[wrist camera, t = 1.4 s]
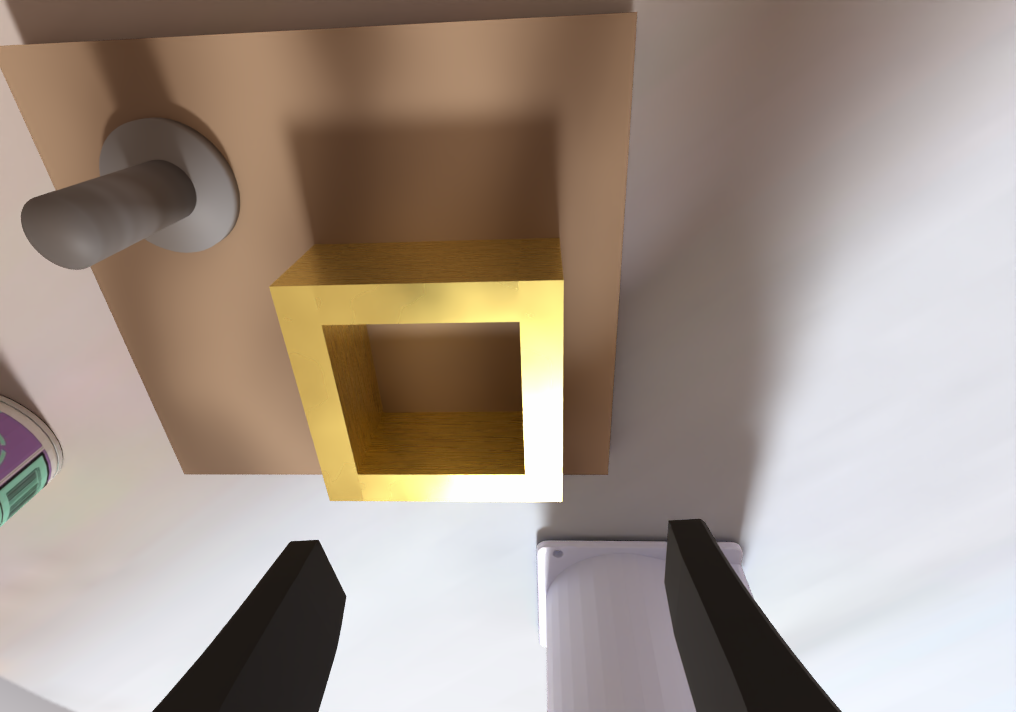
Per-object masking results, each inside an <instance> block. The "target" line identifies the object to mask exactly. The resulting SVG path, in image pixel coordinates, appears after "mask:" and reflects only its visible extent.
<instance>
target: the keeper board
mask: <svg viewBox="0 0 1016 712" xmlns="http://www.w3.org/2000/svg"><path fill="white" fill-rule="evenodd" d="M636 24H637V12H630V13H611V14H592V15H573V16H554V17H536V18H517V19H498V20H479V21H460V22H442V23H423V24H404V25H385V26H366V27H348V28H329V29H310V30H291V31H272V32H254V33H235V34H216V35H197V36H178V37H160V38H141V39H122V40H103V41H84V42H66V43H47V44H28V45H9V46H0V68H1V70H2V72H3V75H4V77H5V79H6V81H7V83H8V86H9V88H10V90H11V92H12V94H13V97H14V99H15V101H16V103H17V106H18V108H19V110H20V112H21V114H22V117H23V119H24V121H25V123H26V125H27V128H28V130H29V132H30V134H31V136H32V139H33V141H34V143H35V145H36V147H37V150H38V152H39V154H40V156H41V158H42V161H43V163H44V165H45V167H46V170H47V172H48V174H49V176H50V178H51V181H52V183H53V185H54V187H55V189H56V191H53V192H50V193H47V194H44V195H41V196H38V197H34V198H32V199H30V200H29V201H28V202H27V203H26V204H25V205H24V207H23V209H22V212H21V223H22V227H23V231H24V233H25V235H26V237H27V239H28V240H29V242H30V243H31V245H32V246H33V247H34V248H35V249H36V250H37V251H38V252H39V253H40V254H41V255H42V256H43V257H45V258H46V259H47V260H49V261H51V262H52V263H54V264H56V265H58V266H61V267H64V268H68V269H75V270H79V269H85V268H88V267H91V269H92V271H93V273H94V275H95V278H96V280H97V282H98V284H99V287H100V289H101V291H102V293H103V295H104V298H105V300H106V302H107V304H108V306H109V309H110V311H111V313H112V315H113V317H114V320H115V322H116V324H117V326H118V328H119V331H120V333H121V335H122V337H123V340H124V342H125V344H126V346H127V348H128V351H129V353H130V355H131V357H132V359H133V362H134V364H135V366H136V368H137V370H138V373H139V375H140V377H141V379H142V381H143V384H144V386H145V388H146V390H147V392H148V395H149V397H150V399H151V401H152V404H153V406H154V408H155V410H156V412H157V415H158V417H159V419H160V421H161V423H162V426H163V428H164V430H165V432H166V434H167V437H168V439H169V441H170V443H171V445H172V448H173V450H174V452H175V454H176V457H177V459H178V461H179V463H180V465H181V468H182V470H183V472H184V474H322V471H321V467H320V464H319V460H318V457H317V453H316V450H315V446H314V443H313V439H312V436H311V432H310V429H309V425H308V422H307V418H306V415H305V411H304V408H303V404H302V401H301V397H300V394H299V390H298V387H297V383H296V380H295V376H294V373H293V369H292V366H291V362H290V359H289V355H288V352H287V348H286V345H285V341H284V338H283V334H282V331H281V327H280V323H279V320H278V316H277V313H276V309H275V306H274V302H273V299H272V295H271V292H270V288H269V286H270V285H271V284H272V283H273V282H275V281H276V280H277V279H278V278H279V277H280V276H281V275H282V274H283V273H284V272H285V271H286V270H287V269H289V268H290V267H291V266H292V265H293V264H294V263H295V262H296V261H297V260H298V259H299V258H300V257H302V256H303V255H304V254H305V253H306V252H307V251H308V250H309V249H310V248H311V247H312V246H313V245H314V244H349V243H386V242H423V241H460V240H497V239H534V238H560V248H561V258H562V268H563V278H564V310H563V438H562V475H608V464H609V449H610V433H611V417H612V401H613V386H614V370H615V354H616V339H617V323H618V307H619V291H620V276H621V260H622V244H623V228H624V213H625V197H626V181H627V165H628V150H629V134H630V118H631V102H632V87H633V71H634V55H635V40H636ZM366 326H367V331H368V336H369V341H370V347H371V352H372V357H373V362H374V367H375V372H376V377H377V382H378V387H379V393H380V398H381V403H382V408H383V412H523V397H522V370H521V344H520V322H474V323H416V324H366Z"/></svg>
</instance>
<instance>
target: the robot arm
mask: <svg viewBox="0 0 1016 712" xmlns="http://www.w3.org/2000/svg"><path fill="white" fill-rule="evenodd" d="M555 550H560V551H555ZM742 556H743V551H742V549H741V547H740V545H739V544H737V543H734V542H716V540H715V539H714V537H713V535H712V533H711V532H710V530H709V528H708V526H707V525H706V523H705V522H704V521H703V520H701V519H690V520H671V521H669V524H668V538H667V541H551V540H547V541H542V542H540V543H539V544H538V545H537V585H538V624H539V643H540V645H541V646H543V647H546V656H547V712H842V711H841V710H840V709H839V708H838V707H837V706H836V704H835V703H834V702H833V701H832V700H831V699H830V697H829V696H828V695H827V694H826V693H825V691H824V690H823V689H822V688H821V686H820V685H819V684H818V683H817V682H816V680H815V679H814V678H813V677H812V675H811V674H810V673H809V672H808V670H807V669H806V668H805V667H804V665H803V664H802V663H801V662H800V660H799V659H798V658H797V657H796V655H795V654H794V653H793V652H792V650H791V649H790V648H789V646H788V645H787V644H786V642H785V641H784V640H783V638H782V637H781V636H780V634H779V633H778V632H777V630H776V629H775V628H774V626H773V625H772V624H771V622H770V621H769V619H768V618H767V617H766V615H765V614H764V613H763V611H762V610H761V608H760V607H759V606H758V604H757V603H756V602H755V600H754V598H753V595H752V593H751V590H750V587H749V585H748V582H747V580H746V577H745V574H744V572H743V569H742V566H741V565H740V564H741V560H742ZM345 601H346V595H345V593H344V591H343V589H342V587H341V585H340V583H339V581H338V579H337V577H336V574H335V572H334V570H333V568H332V566H331V564H330V562H329V560H328V558H327V556H326V554H325V552H324V550H323V548H322V546H321V544H320V542H319V540H308V541H291V542H290V543H289V544H288V545H287V547H286V548H285V549H284V550H283V552H282V553H281V554H280V556H279V557H278V558H277V559H276V561H275V562H274V563H273V565H272V566H271V567H270V569H269V570H268V571H267V572H266V574H265V575H264V576H263V578H262V579H261V580H260V582H259V583H258V584H257V586H256V587H255V588H254V589H253V591H252V592H251V593H250V595H249V596H248V597H247V599H246V600H245V601H244V602H243V604H242V605H241V606H240V608H239V609H238V610H237V611H236V613H235V614H234V615H233V616H232V618H231V619H230V620H229V621H228V623H227V624H226V625H225V626H224V628H223V629H222V630H221V631H220V633H219V634H218V635H217V636H216V638H215V639H214V640H213V641H212V643H211V644H210V645H209V646H208V648H207V649H206V650H205V651H204V652H203V654H202V655H201V656H200V657H199V658H198V660H197V661H196V662H195V663H194V664H193V665H192V667H191V668H190V669H189V670H188V671H187V672H186V674H185V675H184V676H183V677H182V678H181V679H180V681H179V682H178V683H177V684H176V685H175V686H174V688H173V689H172V690H171V691H170V692H169V693H168V695H167V696H166V697H165V698H164V699H163V700H162V701H161V702H160V704H159V705H158V706H157V707H156V708H155V709H154V710H153V711H152V712H318V711H319V708H320V704H321V701H322V698H323V695H324V691H325V688H326V684H327V681H328V678H329V674H330V671H331V667H332V664H333V661H334V657H335V654H336V650H337V646H338V641H339V635H340V630H341V625H342V619H343V613H344V607H345Z"/></svg>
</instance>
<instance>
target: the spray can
mask: <svg viewBox="0 0 1016 712" xmlns="http://www.w3.org/2000/svg"><path fill="white" fill-rule="evenodd" d="M62 462H63V457H62V450H61V448H60V445H59V442H58V441H57V439H56V437H55V436H54V434H53V433H52V431H51V430H50V429H49V428H48V427H47V426H46V424H45V423H44V422H43V421H41V420H40V419H39V418H38V417H37V416H36V415H35V414H33V413H32V412H30V411H29V410H28V409H26V408H25V407H23V406H21V405H20V404H18V403H16V402H14V401H12V400H10V399H8V398H6V397H3V396H1V395H0V527H1V526H2V525H3V524H4V523H5V522H6V521H7V520H8V519H9V518H11V517H12V516H13V515H14V514H15V513H16V512H17V511H18V510H19V509H20V508H21V507H23V506H24V505H25V504H26V503H27V502H28V501H29V500H30V499H31V498H32V497H34V496H35V495H36V494H37V493H38V492H39V491H40V490H41V489H42V488H43V487H45V486H46V485H47V484H48V483H49V482H50V481H51V480H52V478H54V477H55V476H56V475H57V474H58V472H59V471H60V469H61V467H62Z"/></svg>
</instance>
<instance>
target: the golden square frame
mask: <svg viewBox="0 0 1016 712" xmlns="http://www.w3.org/2000/svg"><path fill="white" fill-rule="evenodd" d="M269 288H270V292H271V295H272V299H273V302H274V306H275V309H276V313H277V316H278V320H279V323H280V327H281V331H282V334H283V338H284V341H285V345H286V348H287V352H288V355H289V359H290V362H291V366H292V369H293V373H294V376H295V380H296V383H297V387H298V390H299V394H300V397H301V401H302V404H303V408H304V411H305V415H306V418H307V422H308V425H309V429H310V432H311V436H312V439H313V443H314V446H315V450H316V453H317V457H318V460H319V464H320V467H321V471H322V474H323V478H324V482H325V485H326V489H327V492H328V496H329V499H330V501H500V502H562V438H563V310H564V278H563V268H562V258H561V248H560V238H534V239H497V240H460V241H423V242H386V243H349V244H314V245H313V246H312V247H311V248H310V249H309V250H308V251H307V252H306V253H305V254H304V255H303V256H302V257H300V258H299V259H298V260H297V261H296V262H295V263H294V264H293V265H292V266H291V267H290V268H289V269H287V270H286V271H285V272H284V273H283V274H282V275H281V276H280V277H279V278H278V279H277V280H276V281H275V282H273V283H272V284H271V285H270V286H269ZM474 322H520V344H521V370H522V397H523V412H383V408H382V403H381V398H380V393H379V387H378V382H377V377H376V372H375V367H374V362H373V357H372V352H371V347H370V341H369V336H368V331H367V326H366V324H416V323H474Z"/></svg>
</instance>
